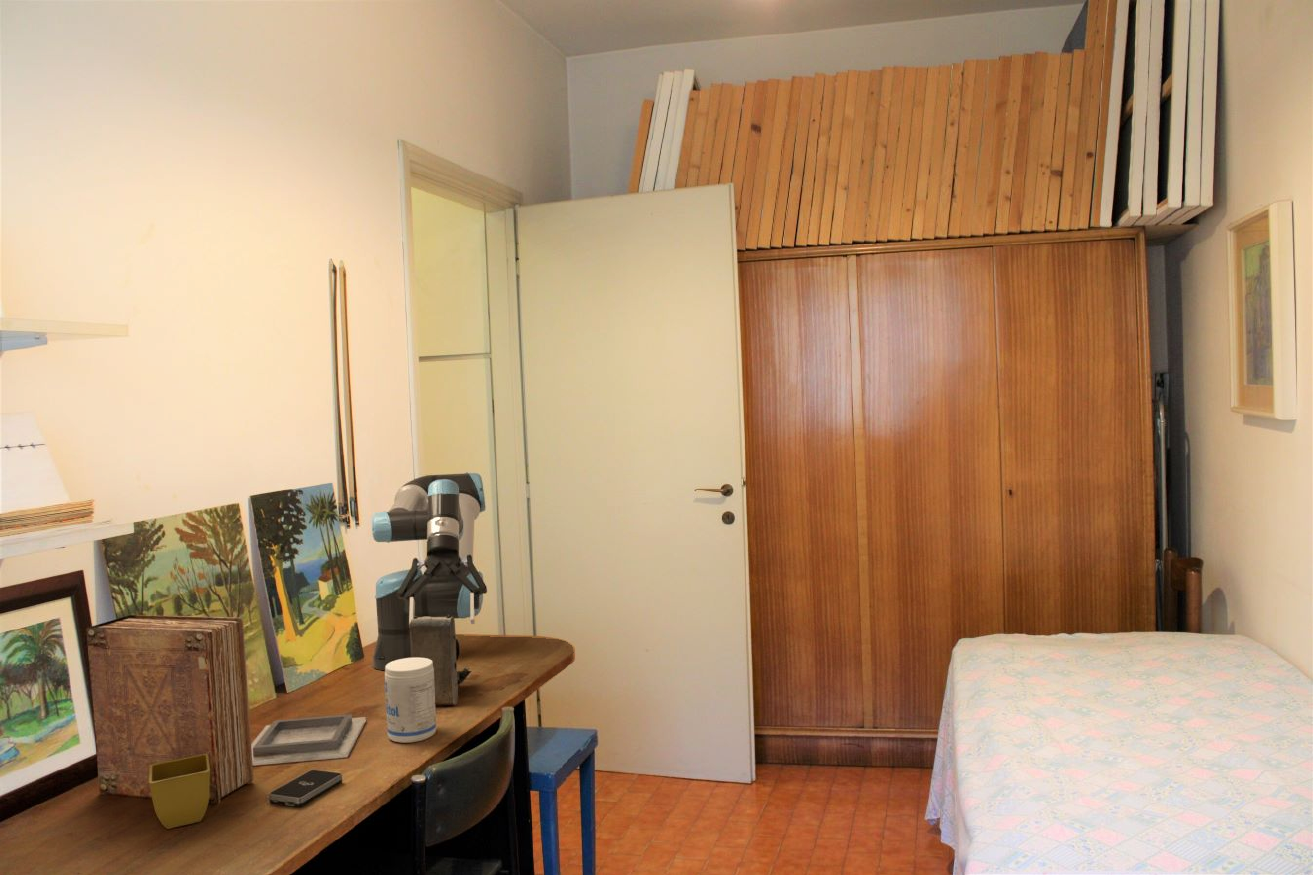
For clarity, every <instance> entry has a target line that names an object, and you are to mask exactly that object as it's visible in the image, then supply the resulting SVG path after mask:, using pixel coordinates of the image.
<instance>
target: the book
mask: <svg viewBox="0 0 1313 875" xmlns="http://www.w3.org/2000/svg"><path fill="white" fill-rule="evenodd" d="M85 632H86V642H87V653H88V665H89V679H90V689H91V692H90V693H91V702H92V715H93V728H94V739H95V740H94V741H95V742H94V743H95V751H96V752H95V753H96V765H97V774H98V775H97V778H98V779H97V780H98V789H99V794H101V795H110V796H120V797H121V796H123V797H129V798H130V797H131V798H133V797H134V798H141V799H150V800H152V795H151V790H150V785H149V774H150V765H153V764H157V763H162V762H167V761H173V760H179V759H183V758H188V757H192V756H197V755H202V754H208V757H209V766H210V787H209V802H208V805H212V806H218V805H220V803H221V799H222V798H224V797H225V796H227V795H230V793H232V792H233V791H235V790H237V789H239V788H240V787H242V786H244V785H251V784H253V783H254V781H255V780H254V766H253V763H252V748H251V744H252V738H251V737H252V736H251V722H250V707H249V689H248V677H247V660H246V659H247V657H246V647H245V631H244V619H243V618H242V617H229V616H228V617H225V616H223V617H222V616H193V615H192V616H189V615H188V616H186V615H184V616H183V615H145V614H143V615H141V614H130V615H129V614H128V615H126V616H122V617H118V618H116V619H112V620H109V621H106V622H105V621H104V622H103V623H102V622H101V623H99V624H95V625H92V626H88V627H87V628H86V629H85Z"/></svg>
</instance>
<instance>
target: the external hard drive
mask: <svg viewBox="0 0 1313 875" xmlns="http://www.w3.org/2000/svg"><path fill="white" fill-rule="evenodd" d="M342 782H343V773H342V772H339V771H337V772H336V771H330V770H321V769H315V768H313V769H310V770H307V771H306V772H304V773H302V774H301V775H299V776H297V777H295V778H293V779H291V780H290V781H288V782H286V783H285V784H283V785H281V786H279V787H277V788H276V789H273V790H272V791H270V792H269V793H268V797H269V798H268V799H269V803H270V804H272V805H273V804H274V805H279V806H285V807H286V806H287V807H292V808H299V809H300V808H303V807H305V806H306V805H308V804H309V803H311V802H313V801H314V800H316V799H317V798H319V797H321V796H322V795H323V796H324V794H326V793H327V792H330V791H331V790H332V789H334V788H336V787H338V786H339V785H341V784H342Z"/></svg>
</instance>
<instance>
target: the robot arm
mask: <svg viewBox="0 0 1313 875" xmlns="http://www.w3.org/2000/svg"><path fill="white" fill-rule="evenodd" d="M483 483H484V482H483V479H482V476H481V475H480V474H479V473H477V472H464V473H452V474H451V473H448V474H429V475H428V474H427V475H423V476H420V477H417V478H414V479H412V480H410V481H408V482H406V483H405V484H403V485H402V486H401V487H400V488H399V489H398V490H397V492H396V493H395V495H394V499H393V501H394V502H393V504H392V506H391V507H390V508H389V510H388V511H382V512H381V511H380V512H375V513H374V514H373V515H372V517H371V518H372V520H371V534H372V538H373V540H374V541H375V542H377V543H394V542H395V543H396V542H407V541H408V542H409V541H410V542H411V541H426V540H427V541H426V556H425V557H426V558H425V559H418V558H417V557H414V558H413V559H412V561H411V562H412V563H411V567H410V568H409V569H404V570H399V571H395V572H392V573H388V574H386V575H383V576H381V577H380V578H378V579H377V581H376V583H375V597H374V599H375V601H376V602H375V603H376V604H375V605H376V606H375V607H376V617H377V618H376V620H377V639H376V643H375V645H374V651H373V653H372V654H373V655H372V658H371V659H372V667H373V668H374V669H376V670H379V671H385V667H386V665H387V664H388V663H390V662H392V661H395V660H399V659H404V658H411V637H410V632H409V624H410V622H411V619H412V618H414V617H415V616H418V617H441V616H448V615H451V616H453V618H454V620H456V619H462V620H463V619H467V618H470V624H471V625H475V623H476V616H478V615H479V614H480V613H481V610H482V606H483V600H484V594H485V595H486V594H487V592H488V587H487V585H486V583H485V582H484V575H483V573H482V572H481V571H478V570H477V567H476V566H475V564H474V543H475V542H474V541H475V540H474V539H475V520H477V519H478V518H479V516H480V514H481V513H482V512H485V511H486V501H485V500H486V497H485V492H484V491H485V490H484V485H483ZM423 567H425V568H426V569H425V571H424V572H423V571H422V568H423Z"/></svg>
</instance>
